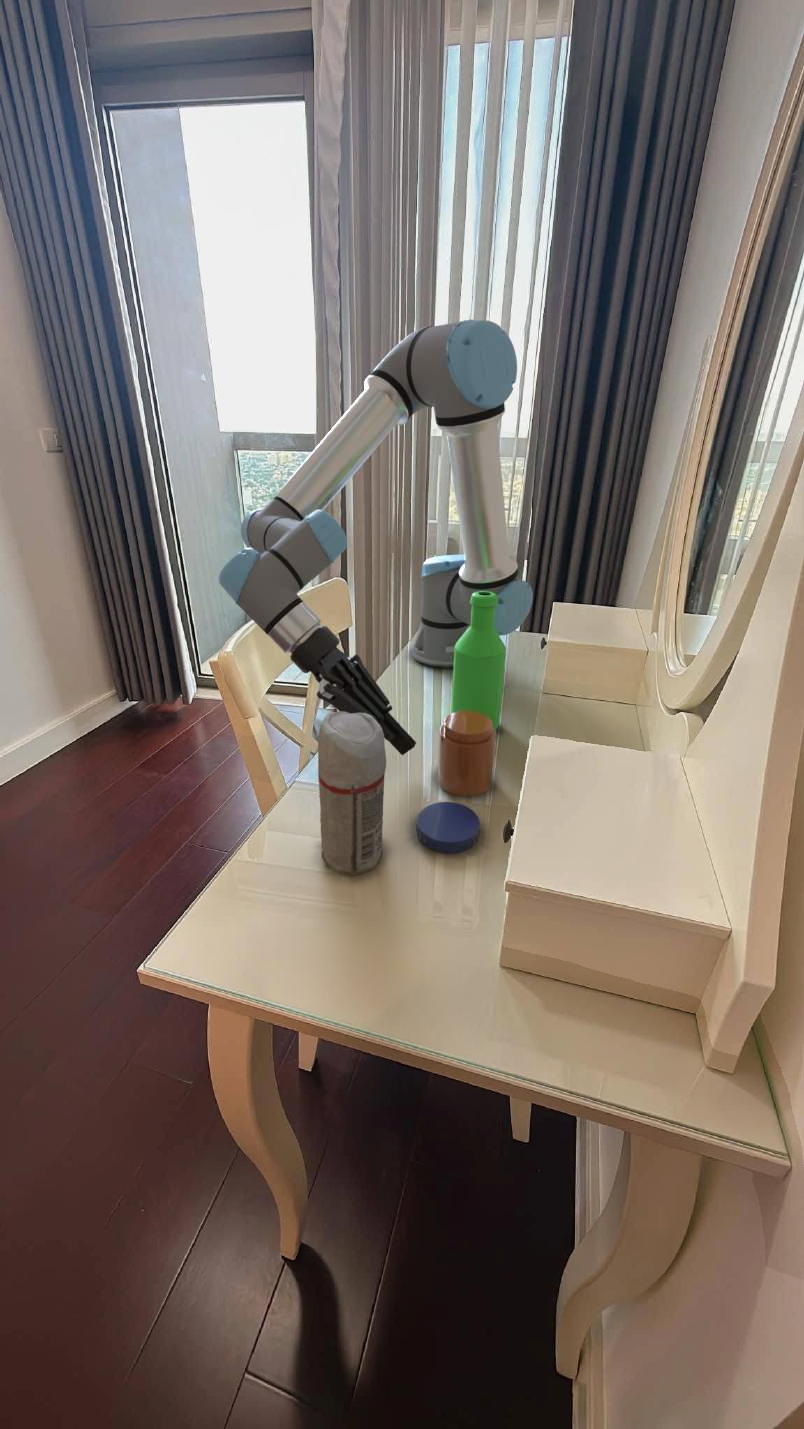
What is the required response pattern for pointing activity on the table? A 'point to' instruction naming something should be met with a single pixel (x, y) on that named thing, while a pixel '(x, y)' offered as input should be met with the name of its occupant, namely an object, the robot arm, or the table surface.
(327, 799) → the spray can
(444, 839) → the lid
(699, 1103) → the table surface
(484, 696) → the bottle
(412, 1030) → the table surface
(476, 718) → the jar
